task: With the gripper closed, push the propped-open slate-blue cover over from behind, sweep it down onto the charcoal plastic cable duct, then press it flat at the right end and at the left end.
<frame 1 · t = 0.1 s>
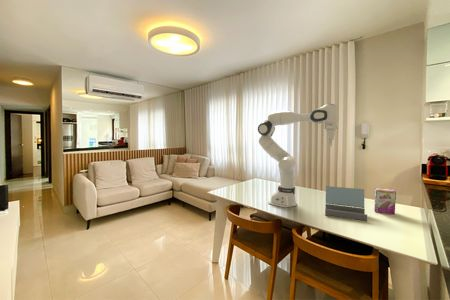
hand: (330, 145, 147), 48 cm above the table, fingers open, 8 cm apart
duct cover: (344, 196, 146), point 11 cm above the table, hinge at 105.0°
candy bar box: (384, 212, 142), on the table
cable duct: (344, 215, 139), on the table
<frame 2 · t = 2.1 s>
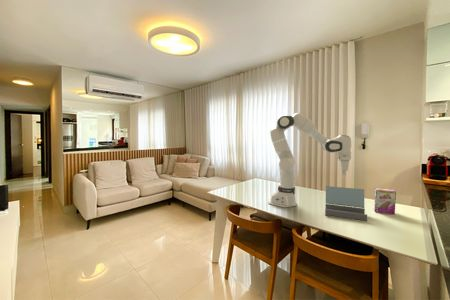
hand: (343, 174, 152), 25 cm above the table, fingers closed
nothing on the table moved.
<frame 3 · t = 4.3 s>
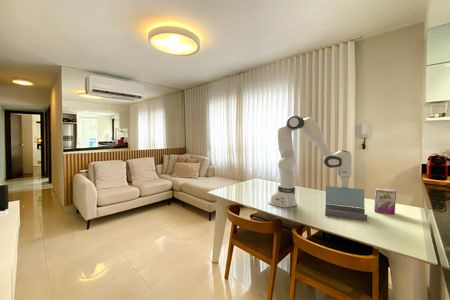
hand: (343, 190, 149), 14 cm above the table, fingers closed
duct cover: (344, 196, 146), point 11 cm above the table, hinge at 104.6°, touching gripper
everything else where it was.
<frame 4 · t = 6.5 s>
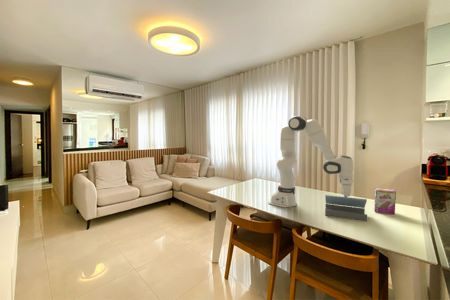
hand: (345, 198, 140), 11 cm above the table, fingers closed
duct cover: (344, 201, 141), point 9 cm above the table, hinge at 41.8°, touching gripper
everything else where it was.
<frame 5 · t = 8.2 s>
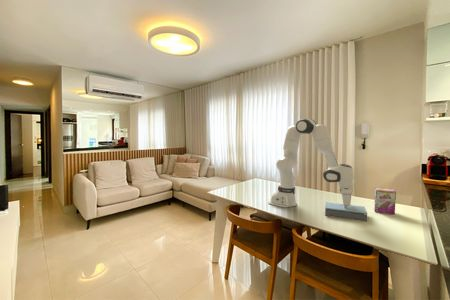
hand: (345, 207, 138), 6 cm above the table, fingers closed, pressing on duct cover
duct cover: (344, 207, 140), point 5 cm above the table, hinge at 1.2°, touching gripper
everything else where it was.
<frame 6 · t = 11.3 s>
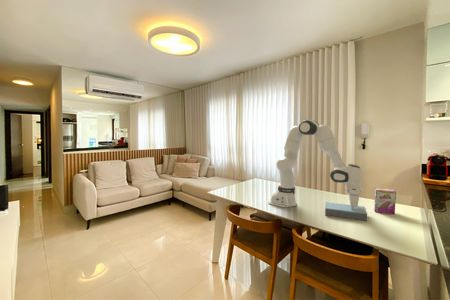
hand: (352, 208, 136), 6 cm above the table, fingers closed
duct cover: (344, 207, 140), point 5 cm above the table, hinge at -0.1°
everything else where it was.
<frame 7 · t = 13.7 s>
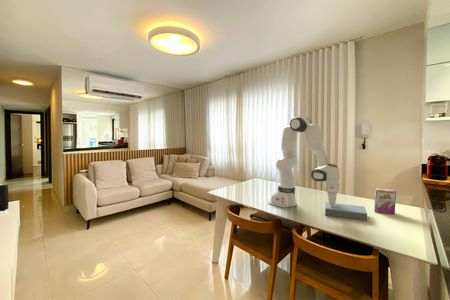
hand: (331, 206, 142), 5 cm above the table, fingers closed, pressing on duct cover
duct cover: (344, 207, 140), point 5 cm above the table, hinge at -0.1°, touching gripper
everything else where it was.
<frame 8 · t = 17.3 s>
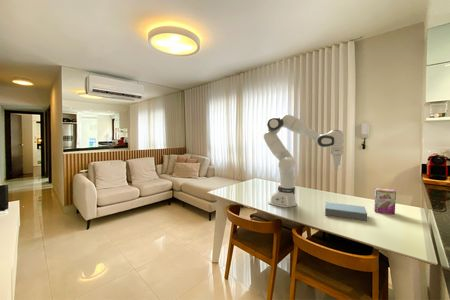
hand: (336, 169, 153), 29 cm above the table, fingers closed
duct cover: (344, 207, 140), point 5 cm above the table, hinge at -0.1°
everything else where it was.
at the end: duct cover at +0° (first picture: +105°); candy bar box moved 0.2 cm from its start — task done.
